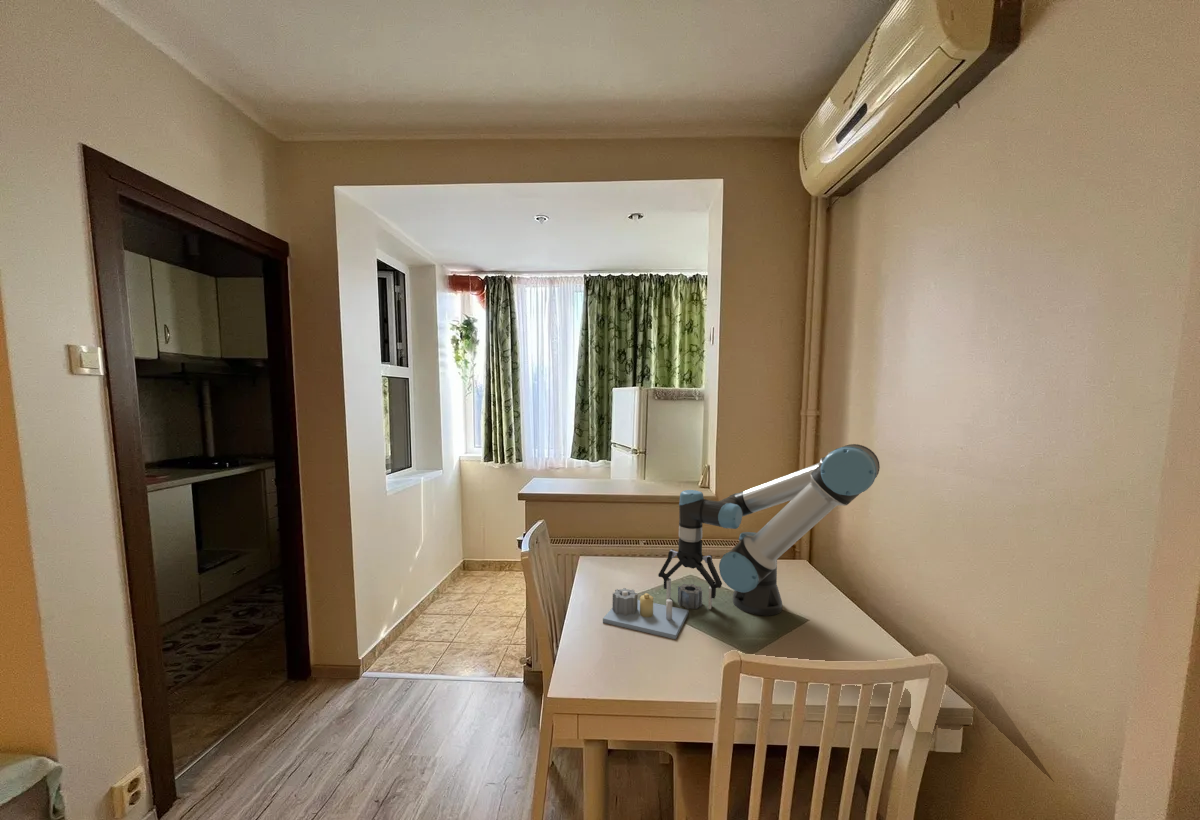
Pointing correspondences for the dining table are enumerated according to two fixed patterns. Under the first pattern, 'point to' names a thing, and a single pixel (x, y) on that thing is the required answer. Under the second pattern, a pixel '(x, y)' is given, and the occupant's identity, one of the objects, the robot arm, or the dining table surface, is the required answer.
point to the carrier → (645, 614)
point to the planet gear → (690, 596)
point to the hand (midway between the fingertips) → (688, 603)
